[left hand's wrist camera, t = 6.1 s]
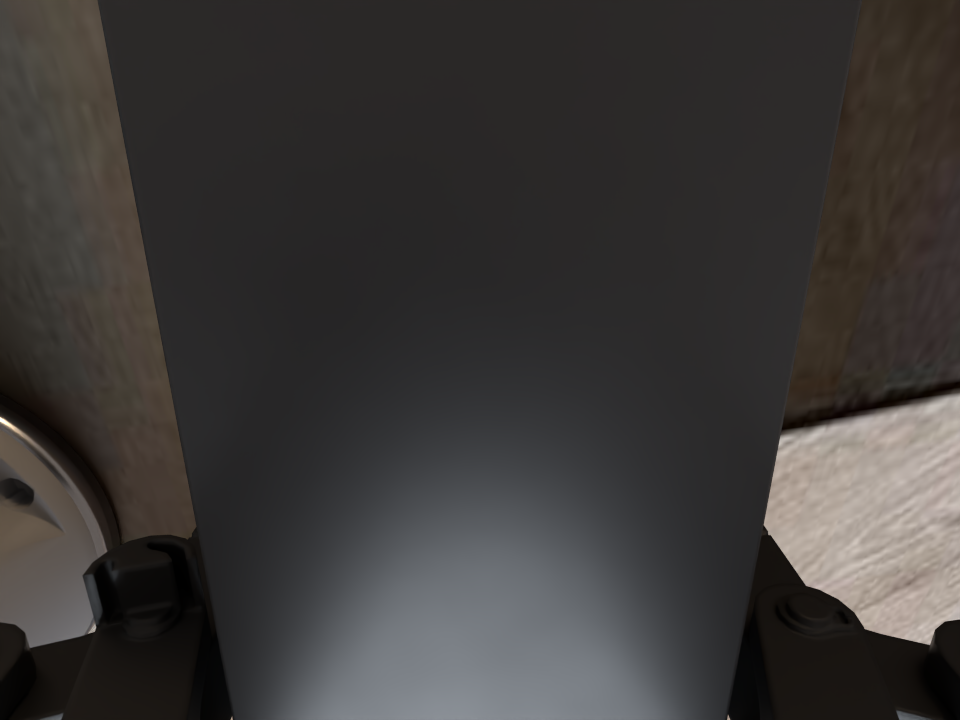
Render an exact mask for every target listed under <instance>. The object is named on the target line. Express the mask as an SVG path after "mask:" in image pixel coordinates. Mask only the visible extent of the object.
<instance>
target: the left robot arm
mask: <svg viewBox="0 0 960 720" xmlns="http://www.w3.org/2000/svg"><path fill="white" fill-rule="evenodd" d="M95 624H96V630H95V632H93V633H90V634H88V632H89V631H90V630H91V628H92V627H93V626H94V625H95ZM728 715H729V718H730V720H960V620H953V621H946V622H944V623H943V624H942V625H940V626H939V627H938V628H937V629H935V632H934V635H933V638H932V641H931V644H930V645H927V644H922V643H918V642H913V641H909V640H905V639H900V638H896V637H891V636H887V635H883V634H879V633H876V632H872V631H869V630H866V629H864V627H863V625H862V624H861V622H860V621H859V619H858V618H857V616H856V615H855V613H854V612H853V611H852V610H850V609H849V608H848V607H847V606H846V605H844V604H843V603H842V602H841V601H840V600H838V599H836V598H834V597H832V596H830V595H828V594H826V593H824V592H822V591H821V590H818V589H815V588H811V587H807V586H806V585H805V584H804V582H803V581H802V580H801V578H800V577H799V575H798V574H797V572H796V571H795V569H794V568H793V567H792V565H791V564H790V562H789V561H788V559H787V558H786V557H785V555H784V554H783V552H782V551H781V549H780V548H779V547H778V545H777V544H776V542H775V541H774V539H773V538H772V537H771V535H768V531H767V529H766V528H765V527H764V525H763V530H762V535H761V541H760V546H759V551H758V557H757V562H756V567H755V573H754V578H753V583H752V589H751V594H750V599H749V605H748V610H747V615H746V621H745V626H744V631H743V637H742V642H741V647H740V653H739V658H738V663H737V669H736V674H735V679H734V685H733V690H732V695H731V701H730V706H729V711H728ZM231 717H232V712H231V707H230V701H229V696H228V691H227V685H226V680H225V675H224V669H223V664H222V659H221V653H220V648H219V643H218V637H217V632H216V627H215V622H214V616H213V611H212V606H211V600H210V595H209V590H208V584H207V579H206V574H205V568H204V563H203V558H202V552H201V547H200V542H199V536H198V531H197V527H196V529H195V530H194V531H193V533H192V537H189V539H188V540H187V539H185V538H181V537H177V536H173V535H156V536H148V537H144V538H140V539H136V540H132V541H129V542H126V543H124V544H122V545H120V537H119V533H118V528H117V524H116V520H115V517H114V514H113V512H112V509H111V506H110V504H109V502H108V500H107V498H106V495H105V493H104V491H103V490H102V488H101V486H100V485H99V483H98V481H97V479H96V478H95V476H94V475H93V474H92V472H91V471H90V469H89V468H88V466H87V465H86V464H85V462H84V461H83V460H82V459H81V458H80V456H79V455H78V454H77V453H76V452H75V451H74V449H73V448H72V447H71V446H70V445H69V444H68V443H67V442H66V441H65V440H64V439H63V438H62V437H61V436H60V435H58V434H57V433H56V432H55V431H54V430H53V429H51V428H50V427H49V426H48V425H47V424H46V423H44V422H43V421H42V420H40V419H39V418H38V417H36V416H35V415H34V414H32V413H31V412H29V411H28V410H26V409H25V408H23V407H22V406H20V405H18V404H17V403H15V402H14V401H12V400H10V399H8V398H6V397H4V396H3V395H1V394H0V720H231Z"/></svg>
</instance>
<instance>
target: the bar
mask: <svg viewBox="0 0 960 720" xmlns="http://www.w3.org/2000/svg"><path fill="white" fill-rule="evenodd" d="M861 2H862V0H98V4H99V10H100V15H101V20H102V26H103V31H104V36H105V41H106V47H107V52H108V57H109V63H110V68H111V73H112V79H113V84H114V89H115V95H116V100H117V105H118V111H119V116H120V121H121V127H122V132H123V137H124V143H125V148H126V153H127V159H128V164H129V169H130V175H131V180H132V185H133V190H134V196H135V201H136V206H137V212H138V217H139V222H140V228H141V233H142V238H143V244H144V249H145V254H146V260H147V265H148V270H149V276H150V281H151V286H152V292H153V297H154V302H155V308H156V313H157V318H158V324H159V329H160V334H161V339H162V345H163V350H164V355H165V361H166V366H167V371H168V377H169V382H170V387H171V393H172V398H173V403H174V409H175V414H176V419H177V425H178V430H179V435H180V441H181V446H182V451H183V457H184V462H185V467H186V473H187V478H188V483H189V488H190V494H191V499H192V504H193V510H194V515H195V520H196V526H197V531H198V536H199V542H200V547H201V552H202V558H203V563H204V568H205V574H206V579H207V584H208V590H209V595H210V600H211V606H212V611H213V616H214V622H215V627H216V632H217V637H218V643H219V648H220V653H221V659H222V664H223V669H224V675H225V680H226V685H227V691H228V696H229V701H230V707H231V712H232V717H233V720H727V717H728V711H729V706H730V701H731V695H732V690H733V685H734V679H735V674H736V669H737V663H738V658H739V653H740V647H741V642H742V637H743V631H744V626H745V621H746V615H747V610H748V605H749V599H750V594H751V589H752V583H753V578H754V573H755V567H756V562H757V557H758V551H759V546H760V541H761V535H762V530H763V525H764V519H765V514H766V509H767V503H768V498H769V493H770V487H771V482H772V477H773V471H774V466H775V461H776V455H777V450H778V445H779V439H780V434H781V429H782V423H783V418H784V413H785V407H786V402H787V397H788V391H789V386H790V381H791V375H792V370H793V365H794V359H795V354H796V349H797V343H798V338H799V333H800V327H801V322H802V317H803V312H804V306H805V301H806V296H807V290H808V285H809V280H810V274H811V269H812V264H813V258H814V253H815V248H816V242H817V237H818V232H819V226H820V221H821V216H822V210H823V205H824V200H825V194H826V189H827V184H828V178H829V173H830V168H831V162H832V157H833V152H834V146H835V141H836V136H837V130H838V125H839V120H840V114H841V109H842V104H843V98H844V93H845V88H846V82H847V77H848V72H849V66H850V61H851V56H852V50H853V45H854V40H855V34H856V29H857V24H858V18H859V13H860V8H861Z"/></svg>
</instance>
